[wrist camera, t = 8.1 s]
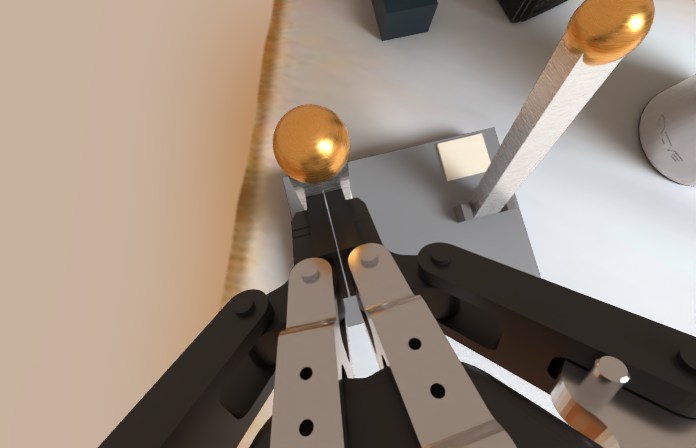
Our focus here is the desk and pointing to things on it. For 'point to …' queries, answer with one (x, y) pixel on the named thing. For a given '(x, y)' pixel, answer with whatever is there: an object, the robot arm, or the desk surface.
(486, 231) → the switch console
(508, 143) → the lever
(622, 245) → the desk surface
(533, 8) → the portable radio
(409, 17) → the stone sculpture on base
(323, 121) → the lever
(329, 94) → the desk surface
